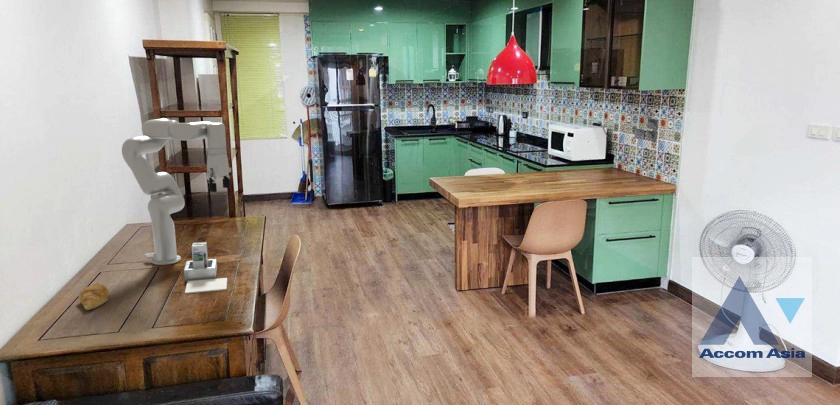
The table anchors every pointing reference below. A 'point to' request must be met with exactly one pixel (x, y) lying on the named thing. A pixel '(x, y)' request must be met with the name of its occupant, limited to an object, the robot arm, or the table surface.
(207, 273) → the gray rectangular frame
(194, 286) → the mat
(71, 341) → the table surface
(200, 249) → the syrup box
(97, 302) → the croissant
